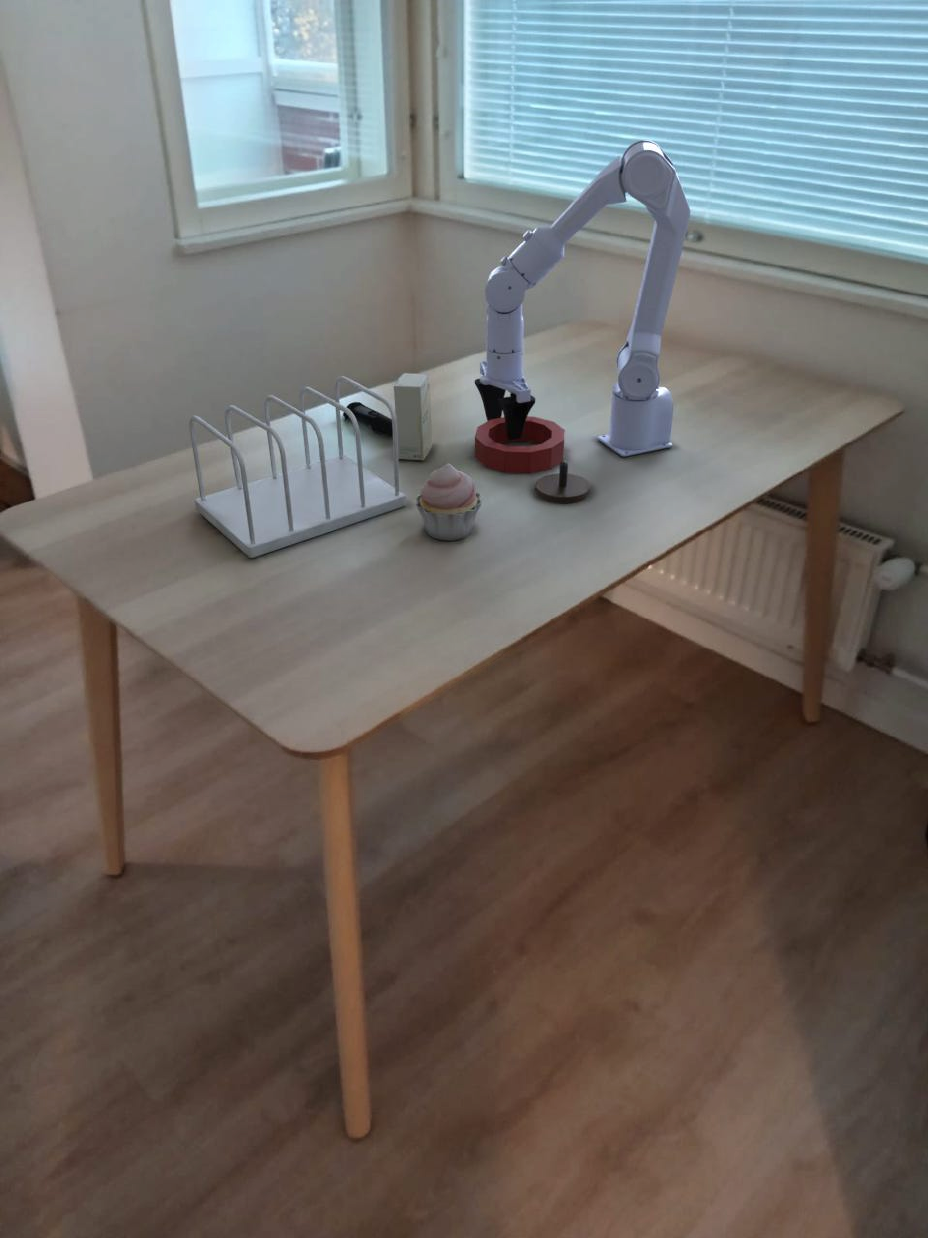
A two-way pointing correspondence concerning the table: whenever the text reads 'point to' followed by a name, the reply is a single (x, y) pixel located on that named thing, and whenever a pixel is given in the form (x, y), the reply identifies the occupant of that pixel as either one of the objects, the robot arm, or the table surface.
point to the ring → (515, 456)
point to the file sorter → (297, 485)
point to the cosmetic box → (413, 416)
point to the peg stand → (562, 486)
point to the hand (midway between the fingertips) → (503, 429)
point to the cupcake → (448, 504)
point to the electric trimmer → (370, 418)
